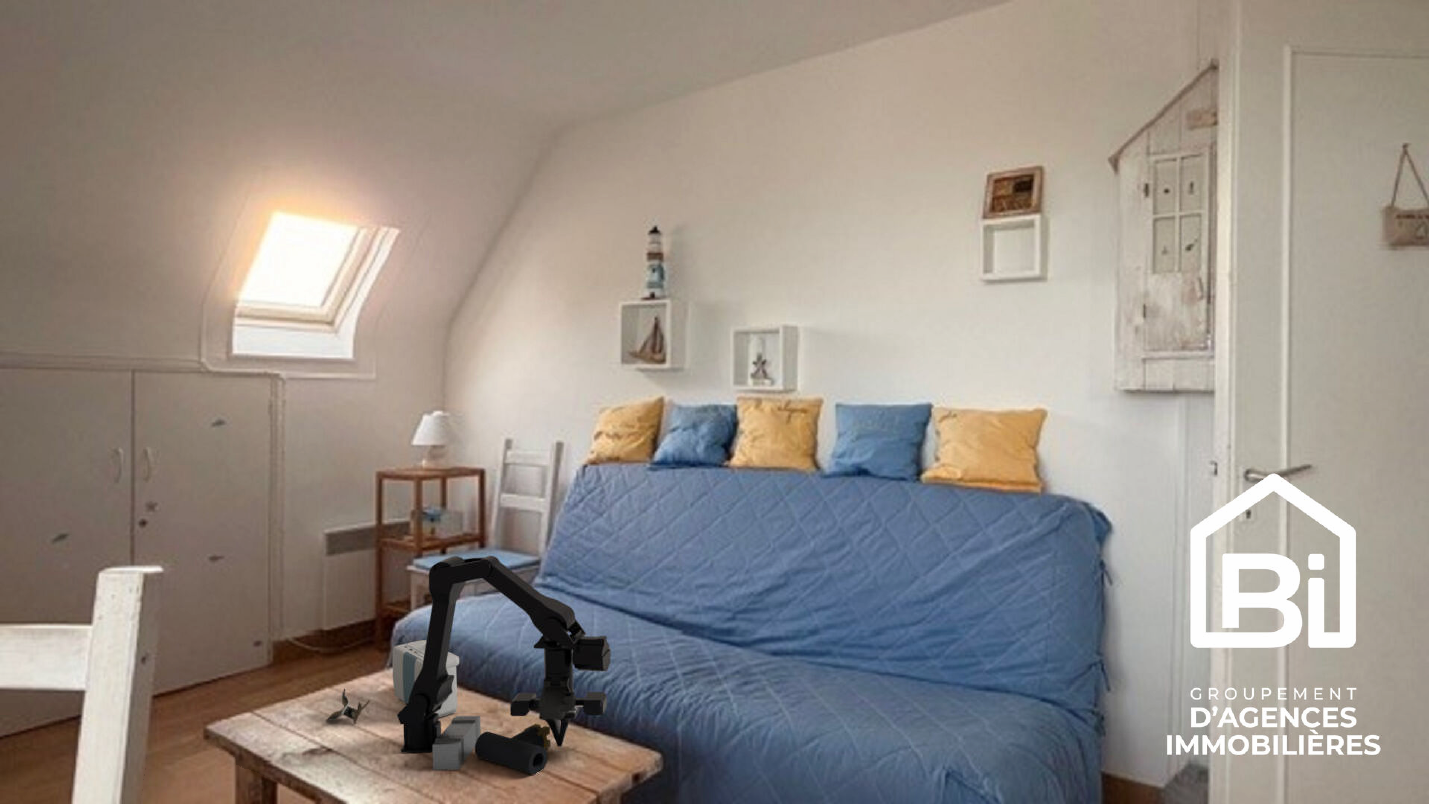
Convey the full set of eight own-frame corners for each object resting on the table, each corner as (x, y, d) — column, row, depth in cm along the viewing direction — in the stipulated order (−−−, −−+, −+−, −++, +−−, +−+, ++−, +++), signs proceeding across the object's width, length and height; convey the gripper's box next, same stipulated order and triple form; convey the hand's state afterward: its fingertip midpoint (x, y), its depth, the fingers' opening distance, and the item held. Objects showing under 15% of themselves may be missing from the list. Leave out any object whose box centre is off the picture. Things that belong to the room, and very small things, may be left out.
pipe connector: (516, 715, 170) (569, 729, 162) (517, 740, 170) (570, 755, 162) (474, 736, 160) (528, 752, 152) (475, 762, 161) (529, 780, 153)
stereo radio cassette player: (392, 700, 195) (389, 617, 195) (425, 691, 200) (423, 611, 200) (427, 724, 179) (425, 635, 179) (462, 713, 185) (460, 627, 185)
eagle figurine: (376, 710, 185) (349, 698, 189) (365, 691, 181) (337, 679, 185) (351, 738, 180) (324, 725, 184) (339, 719, 176) (311, 706, 179)
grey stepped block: (433, 770, 157) (432, 742, 157) (457, 739, 171) (456, 714, 171) (458, 769, 157) (458, 742, 156) (480, 739, 171) (480, 713, 170)
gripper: (501, 684, 155) (503, 764, 155) (598, 682, 155) (599, 763, 155) (516, 664, 166) (518, 739, 166) (606, 663, 166) (608, 738, 166)
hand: (560, 745), depth 163 cm, fingers closed
